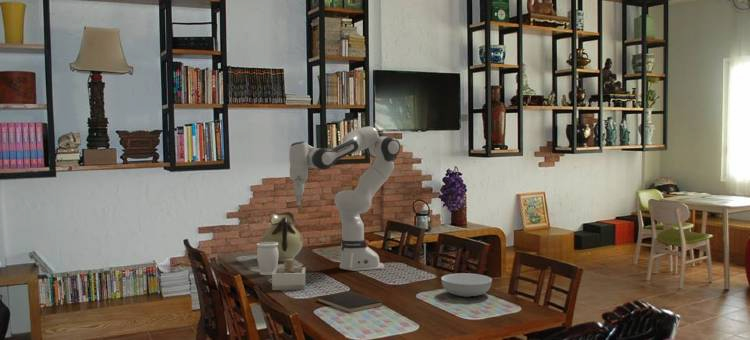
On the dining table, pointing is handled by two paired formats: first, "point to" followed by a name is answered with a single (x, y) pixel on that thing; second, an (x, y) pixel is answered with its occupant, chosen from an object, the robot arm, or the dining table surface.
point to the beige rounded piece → (284, 235)
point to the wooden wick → (288, 266)
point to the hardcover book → (349, 301)
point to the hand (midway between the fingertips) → (299, 204)
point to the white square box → (289, 279)
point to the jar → (267, 257)
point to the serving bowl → (466, 284)
